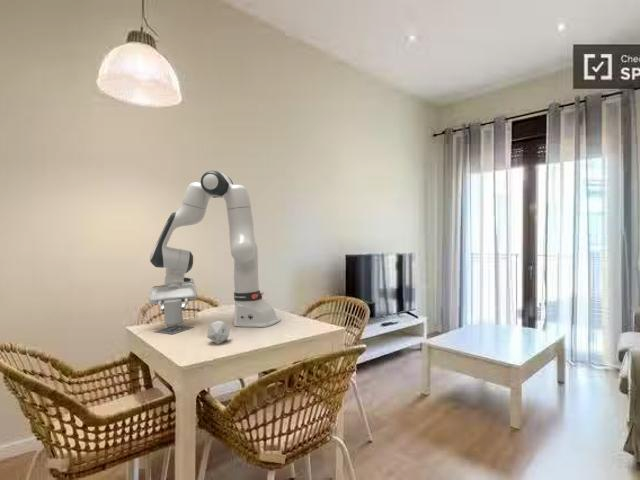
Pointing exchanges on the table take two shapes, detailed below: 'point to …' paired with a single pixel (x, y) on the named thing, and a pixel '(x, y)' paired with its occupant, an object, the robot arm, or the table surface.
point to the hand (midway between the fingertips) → (172, 309)
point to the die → (218, 332)
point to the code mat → (173, 329)
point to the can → (173, 311)
